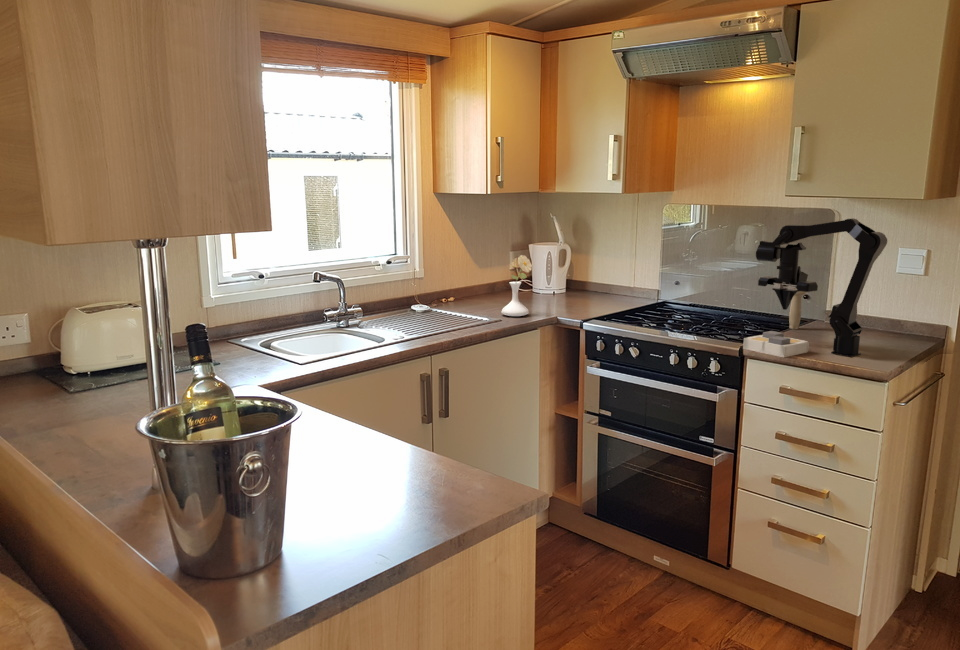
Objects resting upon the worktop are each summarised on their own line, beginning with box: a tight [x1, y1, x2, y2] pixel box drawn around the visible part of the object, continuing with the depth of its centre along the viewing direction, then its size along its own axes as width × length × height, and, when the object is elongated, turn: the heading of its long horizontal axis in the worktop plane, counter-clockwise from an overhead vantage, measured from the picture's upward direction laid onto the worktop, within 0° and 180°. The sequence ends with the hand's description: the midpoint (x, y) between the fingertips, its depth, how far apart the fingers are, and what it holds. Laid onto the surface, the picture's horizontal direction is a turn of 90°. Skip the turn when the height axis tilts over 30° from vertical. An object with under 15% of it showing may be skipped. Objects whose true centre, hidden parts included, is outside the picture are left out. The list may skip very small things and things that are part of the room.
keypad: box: [742, 334, 810, 358], centre depth 239 cm, size 15×13×4 cm
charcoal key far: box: [762, 330, 785, 338], centre depth 243 cm, size 5×5×3 cm
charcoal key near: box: [768, 336, 791, 345], centre depth 234 cm, size 5×5×3 cm
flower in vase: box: [501, 254, 533, 317], centre depth 300 cm, size 13×11×25 cm
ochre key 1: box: [753, 337, 769, 342], centre depth 240 cm, size 5×5×3 cm
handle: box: [788, 291, 807, 330], centre depth 273 cm, size 5×6×15 cm
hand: (785, 309), depth 246 cm, fingers closed
